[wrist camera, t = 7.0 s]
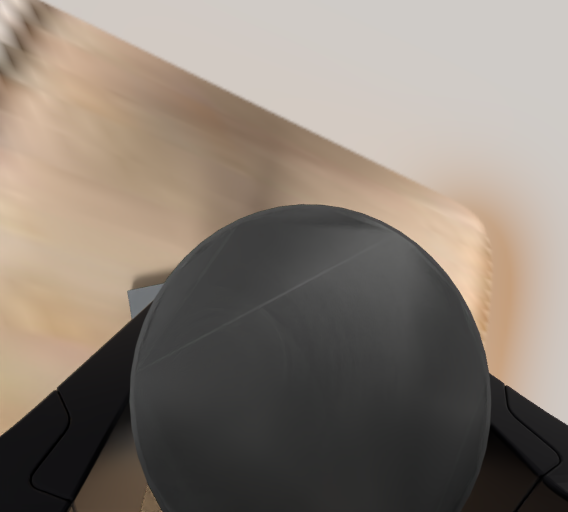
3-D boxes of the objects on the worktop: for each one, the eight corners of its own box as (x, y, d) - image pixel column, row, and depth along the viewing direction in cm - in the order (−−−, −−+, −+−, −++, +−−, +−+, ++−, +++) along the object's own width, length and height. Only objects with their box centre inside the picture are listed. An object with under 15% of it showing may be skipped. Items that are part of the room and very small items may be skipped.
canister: (320, 412, 15) (543, 513, 5) (201, 448, 14) (168, 671, 4) (291, 297, 16) (425, 181, 6) (178, 323, 15) (102, 237, 5)
